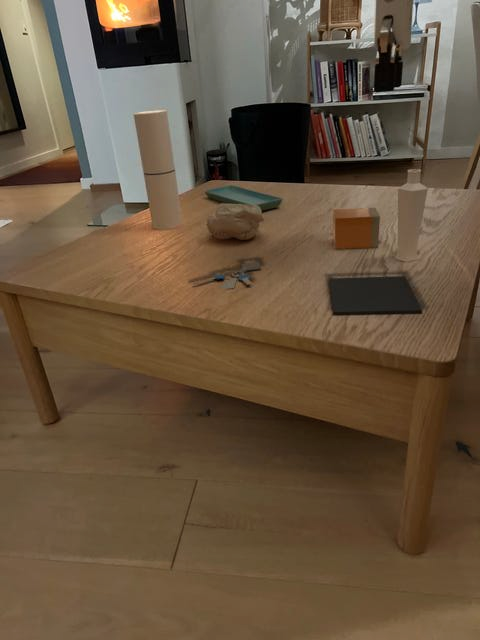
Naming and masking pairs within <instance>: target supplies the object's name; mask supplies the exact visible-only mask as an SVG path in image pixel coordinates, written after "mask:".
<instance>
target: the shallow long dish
mask: <svg viewBox="0 0 480 640" xmlns="http://www.w3.org/2000/svg"><path fill="white" fill-rule="evenodd" d="M203 192H204V193H205V195H206V196H207V197H208V198H209V199H211V200H214V201H217V202H220V203H222V204H246V205H257V206H259V207H260V208H261V211H262V212H263V211H267V210H271V209H275V208H279V206H280V205H281V203H282V202H283V199H284V198H283V197H279V196H275V195H272V194H267V193H263V192H260V191H256V190H252V189H248V188H245V187H241V186H237V185H233V184H228V185H224V186H219V187H213V188H210V189H205V190H204V191H203Z"/></svg>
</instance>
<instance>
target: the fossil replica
mask: <svg viewBox="0 0 480 640" xmlns="http://www.w3.org/2000/svg"><path fill="white" fill-rule="evenodd" d="M264 221H265V217H264V216H263V211H261V208H260V207H259V206H257V205H246V204H226V203H219V205H218V206H217V208H216V210H215V212H214V213H212V214H210V215H209V217H207V220H206V226H207V227H206V229H207V230H208V233H209V234H211V236H212V237H214V238H215V239H219V240H221V241H222V240H229V239H232V238H235V239H237V240H240V241H244V240H245V241H247V240H250V239H252V238H253V237H255V236H256V234H257V232H258V229H260V223H261V222H264Z"/></svg>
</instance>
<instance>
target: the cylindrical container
mask: <svg viewBox="0 0 480 640" xmlns="http://www.w3.org/2000/svg"><path fill="white" fill-rule="evenodd" d="M168 116H169V115H168V110H167V109H161V110H160V109H158V110H148V111H139V112H134V113H133V119H134V126H135V132H136V136H137V142H138V148H139V155H140V160H141V161H140V162H141V166H142V167H141V168H142V173H143V178H144V184H145V189H146V196H147V201H148V202H147V203H148V206H149V213H150V218H151V225H152V228H153V230H158V231H168V230H173V229H177V228H180V227H182V226H183V218H182V209H181V203H180V196H179V188H178V181H177V174H176V166H175V158H174V153H173V152H174V151H173V145H172V139H171V130H170V123H169V118H168Z"/></svg>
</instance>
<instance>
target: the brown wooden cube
mask: <svg viewBox="0 0 480 640" xmlns="http://www.w3.org/2000/svg"><path fill="white" fill-rule="evenodd" d="M380 222H381V216H380V213H379V212H378V210H377V208H376V207H360V208H339V209H332V241H333V248H334V250H350V249H370V248H371V249H372V248H374V249H375V248H379V241H380V240H379V237H380Z"/></svg>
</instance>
